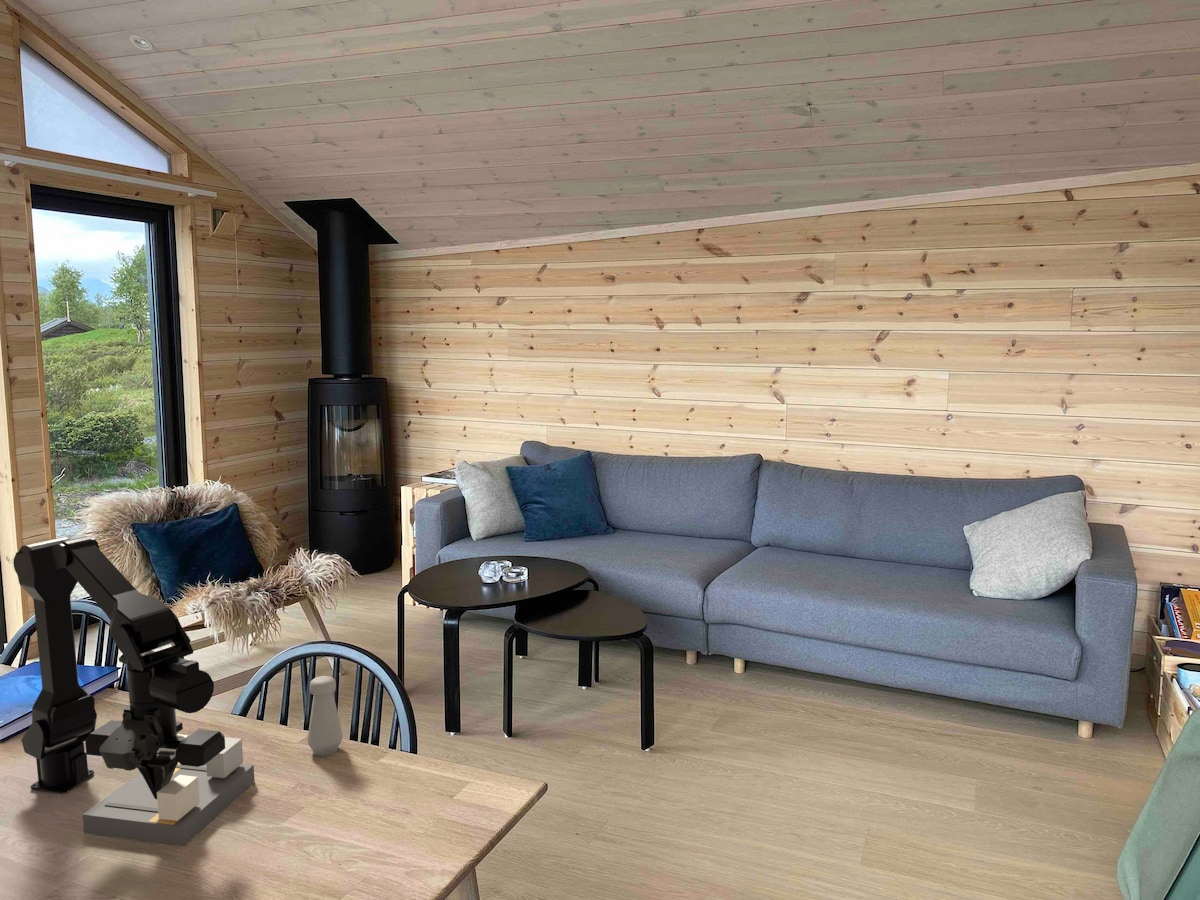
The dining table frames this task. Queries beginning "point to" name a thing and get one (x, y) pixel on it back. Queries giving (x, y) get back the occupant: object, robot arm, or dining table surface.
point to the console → (137, 809)
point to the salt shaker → (324, 718)
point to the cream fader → (178, 797)
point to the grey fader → (226, 759)
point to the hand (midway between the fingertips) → (159, 798)
